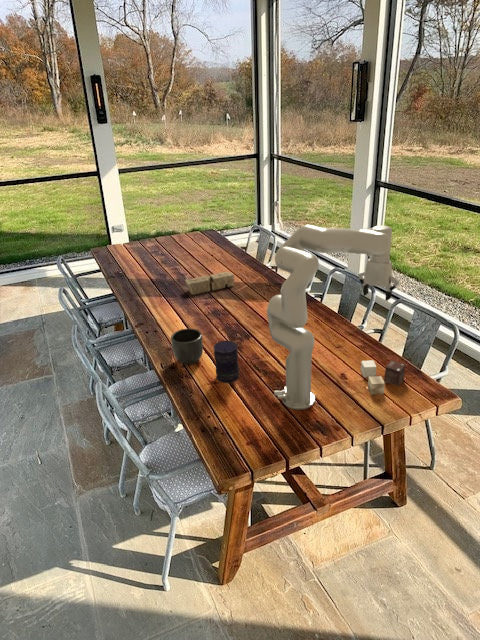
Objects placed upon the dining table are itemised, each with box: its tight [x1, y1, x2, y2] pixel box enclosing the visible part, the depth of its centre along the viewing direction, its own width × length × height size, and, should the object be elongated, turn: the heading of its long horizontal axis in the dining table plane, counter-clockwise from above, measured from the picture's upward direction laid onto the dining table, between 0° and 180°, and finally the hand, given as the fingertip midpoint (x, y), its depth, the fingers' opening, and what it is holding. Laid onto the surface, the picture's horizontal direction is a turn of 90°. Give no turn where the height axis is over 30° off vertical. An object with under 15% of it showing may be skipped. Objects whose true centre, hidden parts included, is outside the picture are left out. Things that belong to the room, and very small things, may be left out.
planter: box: [170, 328, 204, 366], centre depth 209 cm, size 14×14×13 cm
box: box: [383, 360, 406, 387], centre depth 187 cm, size 6×6×7 cm
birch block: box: [367, 375, 386, 395], centre depth 182 cm, size 5×5×5 cm
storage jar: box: [213, 340, 240, 384], centre depth 195 cm, size 10×10×15 cm
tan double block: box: [184, 271, 235, 296], centre depth 286 cm, size 8×8×29 cm
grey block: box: [360, 359, 377, 378], centre depth 193 cm, size 5×5×5 cm
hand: (376, 297), depth 190 cm, fingers open, 9 cm apart
